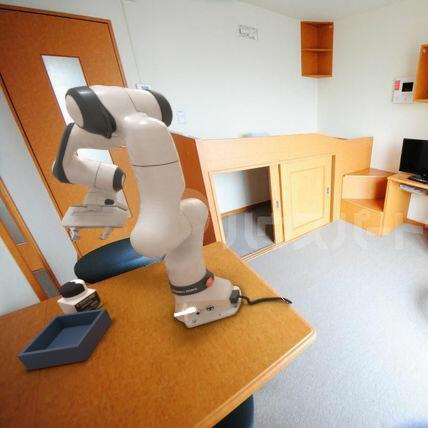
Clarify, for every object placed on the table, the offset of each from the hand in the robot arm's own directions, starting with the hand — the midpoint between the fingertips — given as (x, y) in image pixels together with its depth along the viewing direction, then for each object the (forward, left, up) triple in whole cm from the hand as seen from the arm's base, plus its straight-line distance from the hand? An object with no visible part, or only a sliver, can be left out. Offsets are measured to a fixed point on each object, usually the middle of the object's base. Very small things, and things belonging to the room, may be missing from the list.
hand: (89, 239), depth 86 cm
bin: (-3, +26, -22) cm, 34 cm away
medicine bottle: (+2, +12, -22) cm, 25 cm away
